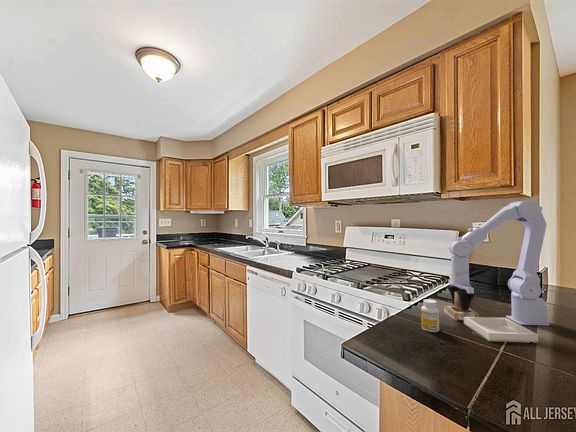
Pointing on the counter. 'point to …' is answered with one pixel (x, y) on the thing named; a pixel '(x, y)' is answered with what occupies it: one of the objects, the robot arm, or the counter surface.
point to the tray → (500, 329)
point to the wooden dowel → (458, 303)
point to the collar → (459, 313)
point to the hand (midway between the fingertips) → (460, 307)
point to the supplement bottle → (430, 316)
